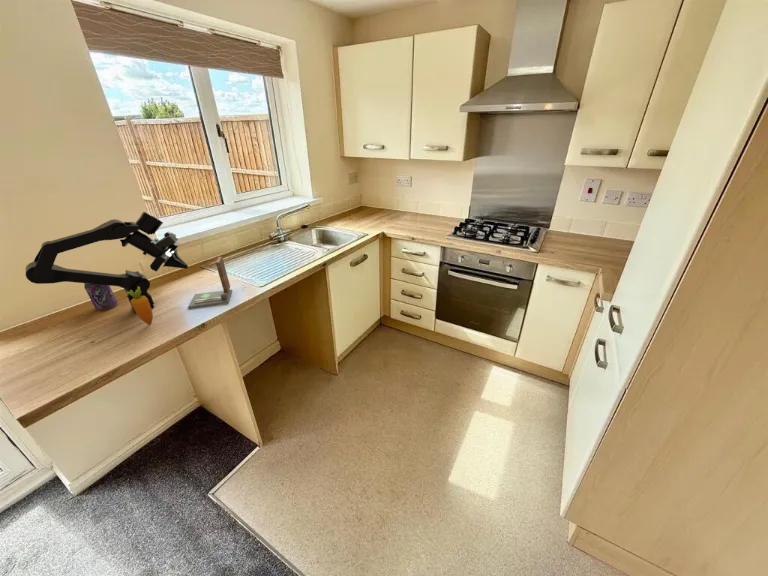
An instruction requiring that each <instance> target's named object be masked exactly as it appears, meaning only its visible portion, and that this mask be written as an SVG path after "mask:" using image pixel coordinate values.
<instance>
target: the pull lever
mask: <svg viewBox="0 0 768 576" xmlns="http://www.w3.org/2000/svg"><path fill="white" fill-rule="evenodd" d="M215 267H216V269H217V270H216V271H217V273H218V276H219V280H220V284H221V287H222V291H224V293H223V294H221V295H220V296H221V297H214V298H207V299H199V300H195V301H194V302H201V301H209V300H216V299H227V298H228V296H227V295H228V293H229V290H231V284H230V280H229V278H228V274H227V269H226V266H225V263H224V259H223V256H218V257H217V259H216V260H215Z"/></svg>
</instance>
